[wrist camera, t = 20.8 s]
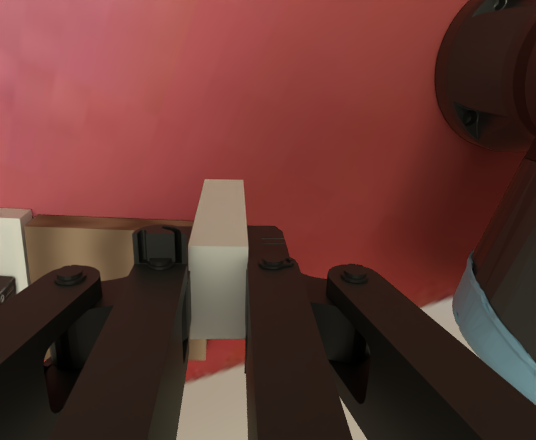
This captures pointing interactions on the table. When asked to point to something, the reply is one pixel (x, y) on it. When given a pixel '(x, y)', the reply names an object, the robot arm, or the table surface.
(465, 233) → the table surface
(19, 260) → the bin
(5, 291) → the box
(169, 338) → the robot arm
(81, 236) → the wooden board
